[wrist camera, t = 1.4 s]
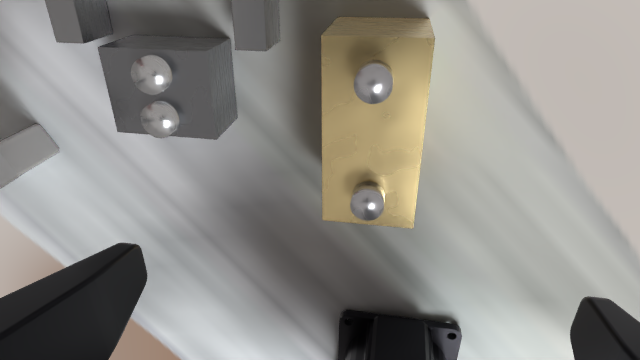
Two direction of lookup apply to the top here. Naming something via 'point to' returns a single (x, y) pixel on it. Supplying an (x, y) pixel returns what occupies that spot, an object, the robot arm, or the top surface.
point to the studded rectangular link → (169, 68)
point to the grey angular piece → (24, 152)
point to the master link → (374, 117)
